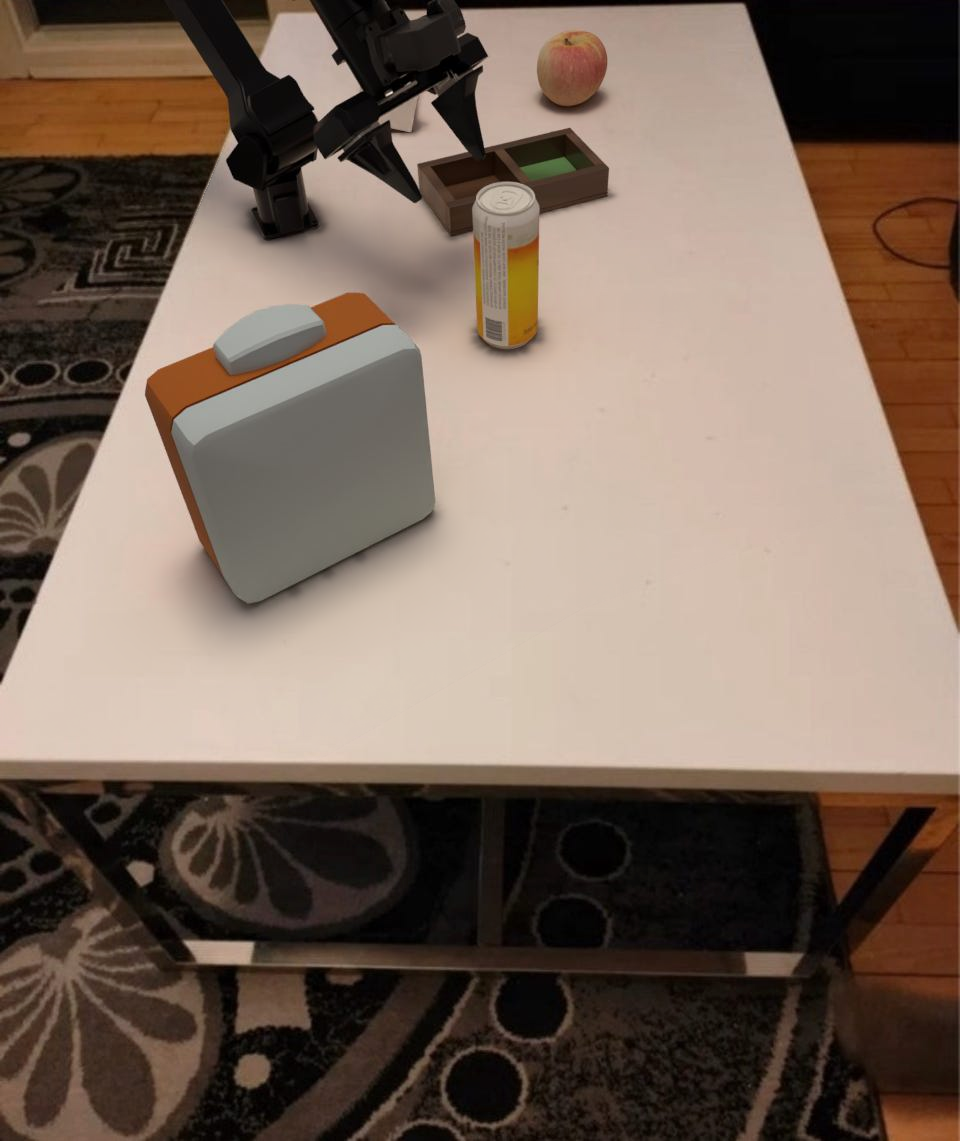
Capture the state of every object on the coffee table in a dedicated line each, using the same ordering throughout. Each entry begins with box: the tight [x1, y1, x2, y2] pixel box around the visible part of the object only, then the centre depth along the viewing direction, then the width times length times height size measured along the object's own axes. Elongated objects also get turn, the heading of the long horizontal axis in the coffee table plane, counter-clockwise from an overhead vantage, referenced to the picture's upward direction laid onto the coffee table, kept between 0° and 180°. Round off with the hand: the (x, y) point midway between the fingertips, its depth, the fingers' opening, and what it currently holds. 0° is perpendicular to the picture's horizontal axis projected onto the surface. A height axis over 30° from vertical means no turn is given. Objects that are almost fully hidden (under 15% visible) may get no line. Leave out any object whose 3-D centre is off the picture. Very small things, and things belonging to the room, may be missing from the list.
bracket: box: [358, 82, 419, 133], centre depth 130 cm, size 13×7×8 cm, turn 1°
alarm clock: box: [144, 292, 436, 604], centre depth 78 cm, size 18×9×21 cm, turn 124°
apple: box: [536, 29, 608, 107], centre depth 130 cm, size 9×9×8 cm
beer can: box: [472, 182, 540, 350], centre depth 96 cm, size 6×6×15 cm
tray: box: [416, 127, 610, 236], centre depth 117 cm, size 10×20×4 cm, turn 112°
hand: (451, 179), depth 95 cm, fingers open, 9 cm apart
